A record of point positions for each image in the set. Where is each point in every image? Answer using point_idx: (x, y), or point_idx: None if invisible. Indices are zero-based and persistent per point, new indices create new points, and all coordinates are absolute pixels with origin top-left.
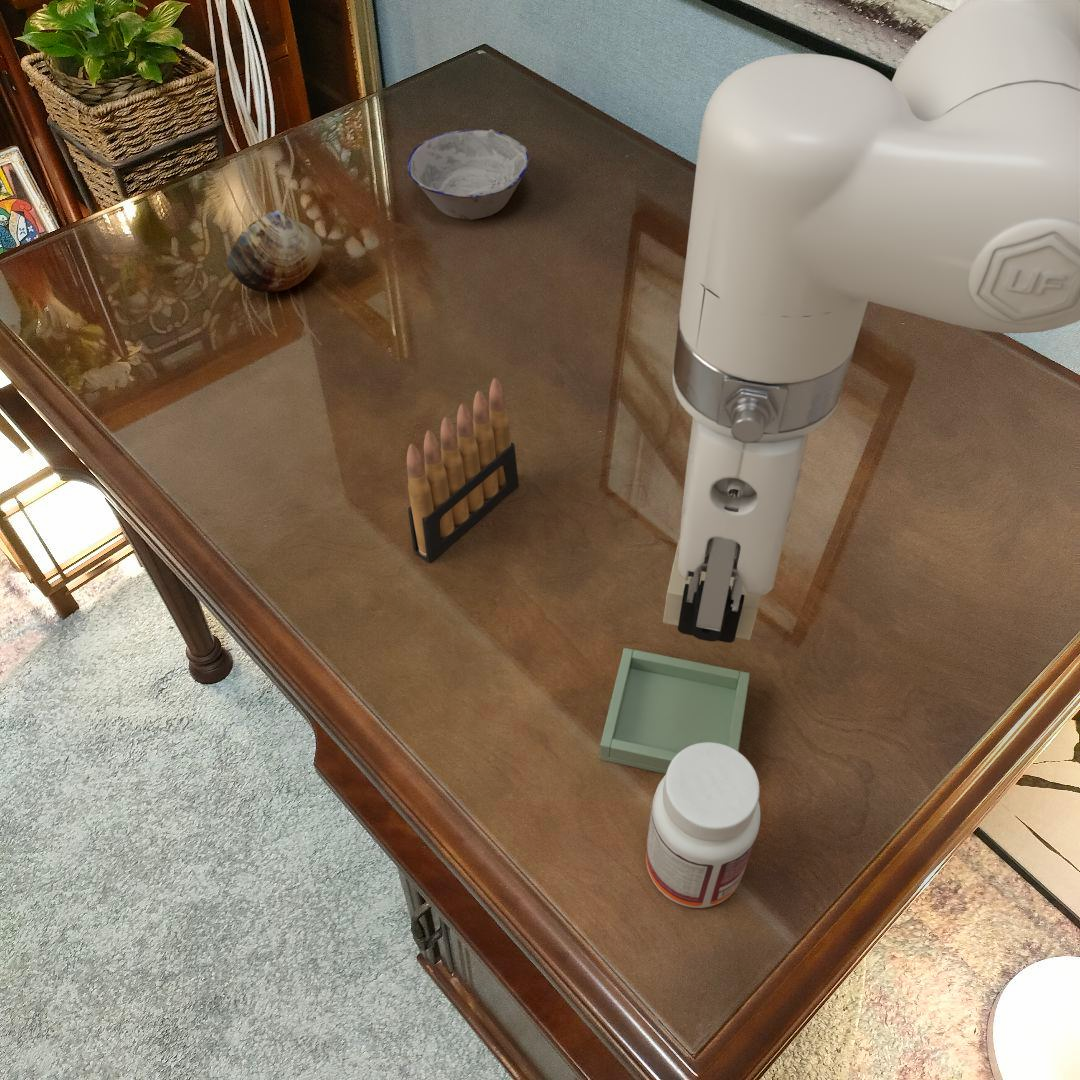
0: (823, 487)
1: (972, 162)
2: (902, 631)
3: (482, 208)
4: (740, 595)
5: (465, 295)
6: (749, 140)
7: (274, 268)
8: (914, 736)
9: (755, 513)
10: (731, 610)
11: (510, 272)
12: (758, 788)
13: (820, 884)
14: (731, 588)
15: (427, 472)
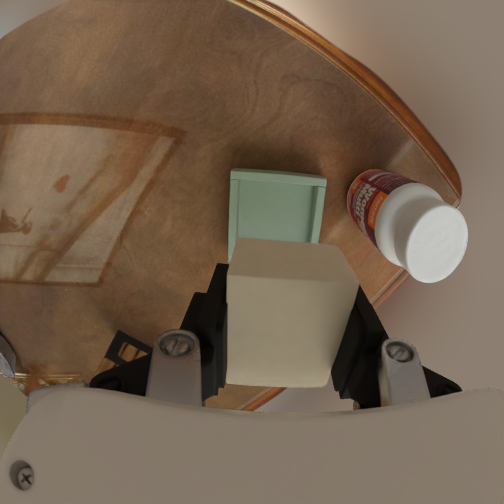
0: (54, 141)
1: None
2: (158, 60)
3: (5, 348)
4: (423, 375)
5: (38, 351)
6: None
7: None
8: (252, 46)
9: None
10: (457, 386)
11: (18, 333)
12: (445, 206)
13: (379, 118)
14: (316, 323)
15: None
